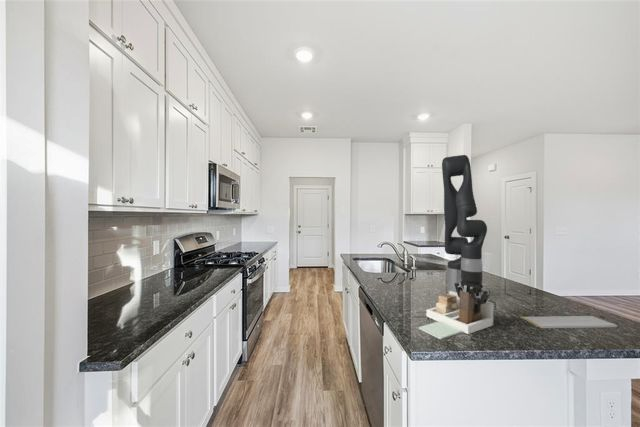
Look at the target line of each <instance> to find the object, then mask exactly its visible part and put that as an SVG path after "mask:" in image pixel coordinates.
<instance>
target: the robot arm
mask: <svg viewBox="0 0 640 427" xmlns="http://www.w3.org/2000/svg"><path fill="white" fill-rule="evenodd" d="M441 161H442V162H441V170H442V171H441V172H442V182H443V213H444V216H443V217H444V252H445V253H446V254H447V255H455V256H456V255H457V256H460V257H459V258H456V259H452V260H450V261H448V262H447V294H449V291H453V292H457V295H458V297H459V298H460V290H461V291H465V292H468V293H469V294H470V295H472V297H473V298H474V302H475V305H474V313H476V314H477V313H479V312H480V311H481V310H480V308H481V304H484V303H486V301H487V300H488V298H489V296H490V294H491V290H489V289H485V288H484V286H483V284H482V283H483V260H482V259H483V257H482V255H483V254H482V253H483V252H482V250H483V249H482V248H483V245H484V243H485V242H484V241H485V238H486V236H487V232H488V226H487V223H486V222H485V221H484V220H482V219H468V218H472V217H474V216H476V215H477V213H478V208H477V204H476V201H475V196H474V191H473V177H472V169H471V168H472V166H471V162H470V158H469V157H468V155H466V154H461V155H460V154H459V155H451V156H446V157H444V158H443V159H442V160H441ZM461 176H462V183H461V185H460V187H459V189H458V190H457V189H456V187H455V186H454V184H453V182H452V178H453V177H461ZM455 229H456V232H457V235H459V236H453V233H454V231H455ZM468 238H472V240H471V241H469V240H468ZM480 291H481V295H480ZM480 297H481V299H480ZM487 302H488V301H487Z"/></svg>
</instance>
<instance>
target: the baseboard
mask: <svg viewBox="0 0 640 427" xmlns="http://www.w3.org/2000/svg"><path fill="white" fill-rule="evenodd" d="M590 314H591V315H590ZM598 317H599V318H598ZM520 319H522V320H525V321H526V322H529V323H530V324H532V325H534V326H536V327H538V328H539V329H587V328H590V329H591V328H593V329H594V328H595V329H596V328H597V329H599V328H604V329H605V328H618V325H617V324H618V322H615V323H613V322H610V321H611V320H610V319H608V320H605V319H606V317H605V316H603V315H597V316H595V315H594V316H593V315H592V312H591V313H590V312H589V313H587V315H575V316H574V315H570V316H569V315H567V316H565V315H564V316H563V315H562V316H561V315H560V316H559V315H557V316H555V315H554V316H550V315H549V316H547V315H546V316H520Z"/></svg>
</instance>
